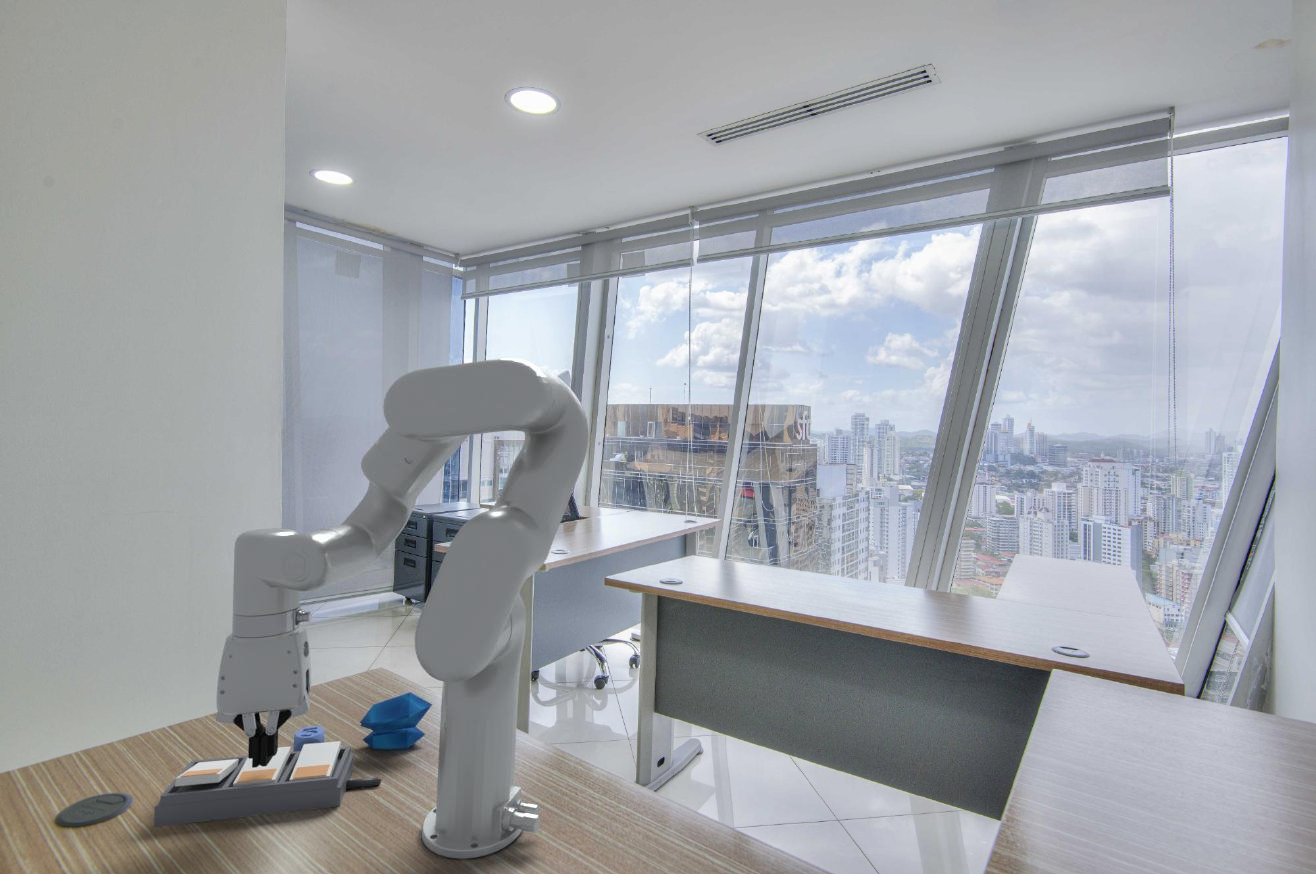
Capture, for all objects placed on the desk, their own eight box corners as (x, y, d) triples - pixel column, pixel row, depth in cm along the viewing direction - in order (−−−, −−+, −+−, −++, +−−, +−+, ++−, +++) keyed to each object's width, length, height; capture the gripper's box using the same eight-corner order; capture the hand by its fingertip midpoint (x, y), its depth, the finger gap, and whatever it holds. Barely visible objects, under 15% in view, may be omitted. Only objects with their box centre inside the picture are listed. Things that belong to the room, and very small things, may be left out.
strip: (385, 768, 92) (386, 743, 92) (376, 802, 84) (377, 774, 84) (186, 787, 85) (188, 760, 85) (153, 826, 76) (155, 796, 77)
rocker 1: (237, 768, 86) (238, 757, 86) (218, 783, 79) (219, 772, 80) (197, 771, 85) (198, 761, 85) (174, 788, 78) (176, 776, 78)
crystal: (360, 695, 102) (434, 677, 104) (369, 746, 102) (444, 727, 104) (345, 715, 94) (426, 695, 96) (356, 770, 94) (436, 749, 97)
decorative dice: (323, 749, 97) (324, 724, 97) (322, 761, 94) (324, 735, 94) (294, 754, 95) (295, 728, 95) (292, 766, 92) (293, 739, 92)
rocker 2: (340, 748, 90) (340, 740, 89) (329, 783, 83) (329, 775, 83) (304, 751, 88) (303, 743, 88) (289, 787, 82) (289, 779, 82)
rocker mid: (290, 754, 88) (290, 745, 88) (274, 787, 81) (275, 778, 81) (252, 757, 87) (252, 748, 86) (233, 792, 80) (233, 782, 80)
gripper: (334, 612, 87) (331, 742, 87) (212, 619, 83) (209, 755, 83) (322, 626, 80) (318, 768, 80) (187, 635, 76) (183, 785, 76)
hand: (263, 761), depth 81 cm, fingers closed
